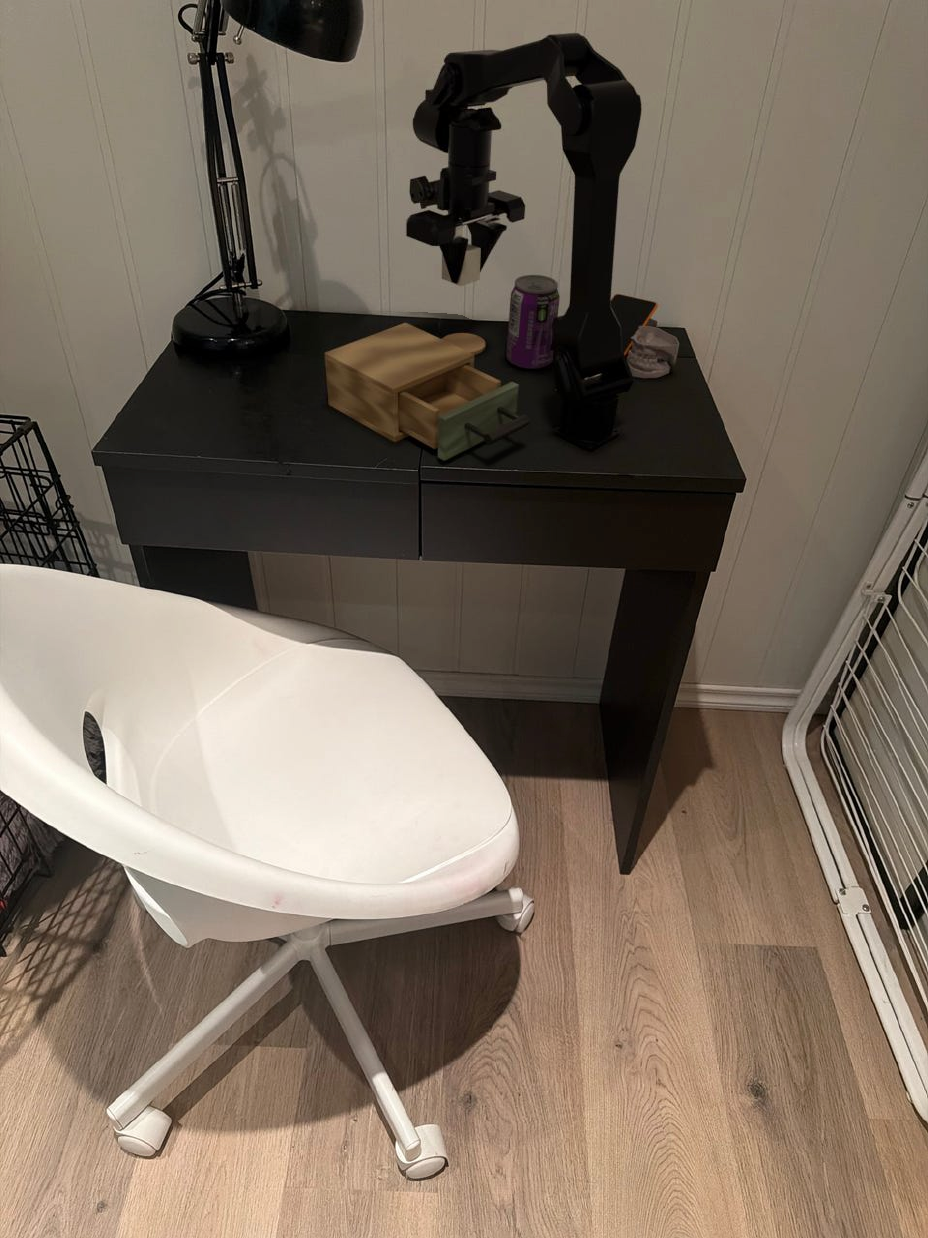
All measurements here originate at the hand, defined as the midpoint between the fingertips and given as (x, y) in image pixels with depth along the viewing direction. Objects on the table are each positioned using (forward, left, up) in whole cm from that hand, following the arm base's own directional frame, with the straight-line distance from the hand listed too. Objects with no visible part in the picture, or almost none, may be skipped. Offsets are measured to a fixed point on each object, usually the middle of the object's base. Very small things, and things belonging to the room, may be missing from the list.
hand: (465, 278), depth 124 cm
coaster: (0, 0, -11) cm, 11 cm away
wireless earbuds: (-17, -22, -11) cm, 30 cm away
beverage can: (-10, -4, -11) cm, 15 cm away
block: (+1, 0, 0) cm, 1 cm away
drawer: (-19, +20, -10) cm, 29 cm away
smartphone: (-15, -23, -8) cm, 29 cm away
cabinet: (-7, +20, -11) cm, 23 cm away
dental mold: (-24, -15, -5) cm, 29 cm away
